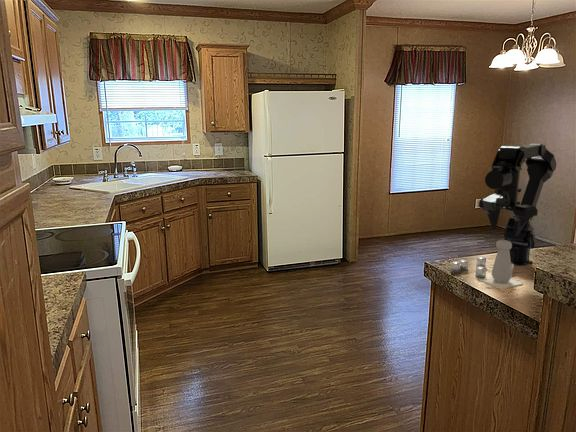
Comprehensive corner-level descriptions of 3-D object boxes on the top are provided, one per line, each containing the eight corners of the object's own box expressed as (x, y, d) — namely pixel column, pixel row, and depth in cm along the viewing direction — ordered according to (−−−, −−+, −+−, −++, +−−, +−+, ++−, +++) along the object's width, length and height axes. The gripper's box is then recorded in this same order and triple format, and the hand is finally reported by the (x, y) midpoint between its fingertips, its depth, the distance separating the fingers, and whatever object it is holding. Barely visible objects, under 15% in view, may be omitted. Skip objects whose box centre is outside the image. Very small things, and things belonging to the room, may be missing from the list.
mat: (502, 276, 146) (502, 275, 146) (522, 284, 139) (523, 283, 139) (480, 280, 143) (480, 279, 143) (500, 289, 135) (500, 288, 135)
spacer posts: (488, 263, 159) (489, 254, 158) (515, 273, 149) (516, 264, 148) (447, 270, 153) (448, 261, 152) (472, 281, 142) (473, 272, 142)
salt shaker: (506, 277, 143) (509, 238, 141) (515, 284, 138) (518, 243, 135) (487, 278, 143) (490, 238, 141) (495, 284, 138) (499, 243, 135)
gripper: (467, 183, 151) (464, 229, 154) (513, 191, 134) (509, 242, 137) (493, 181, 155) (489, 225, 158) (541, 188, 138) (536, 238, 141)
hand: (504, 232), depth 149 cm, fingers open, 9 cm apart
